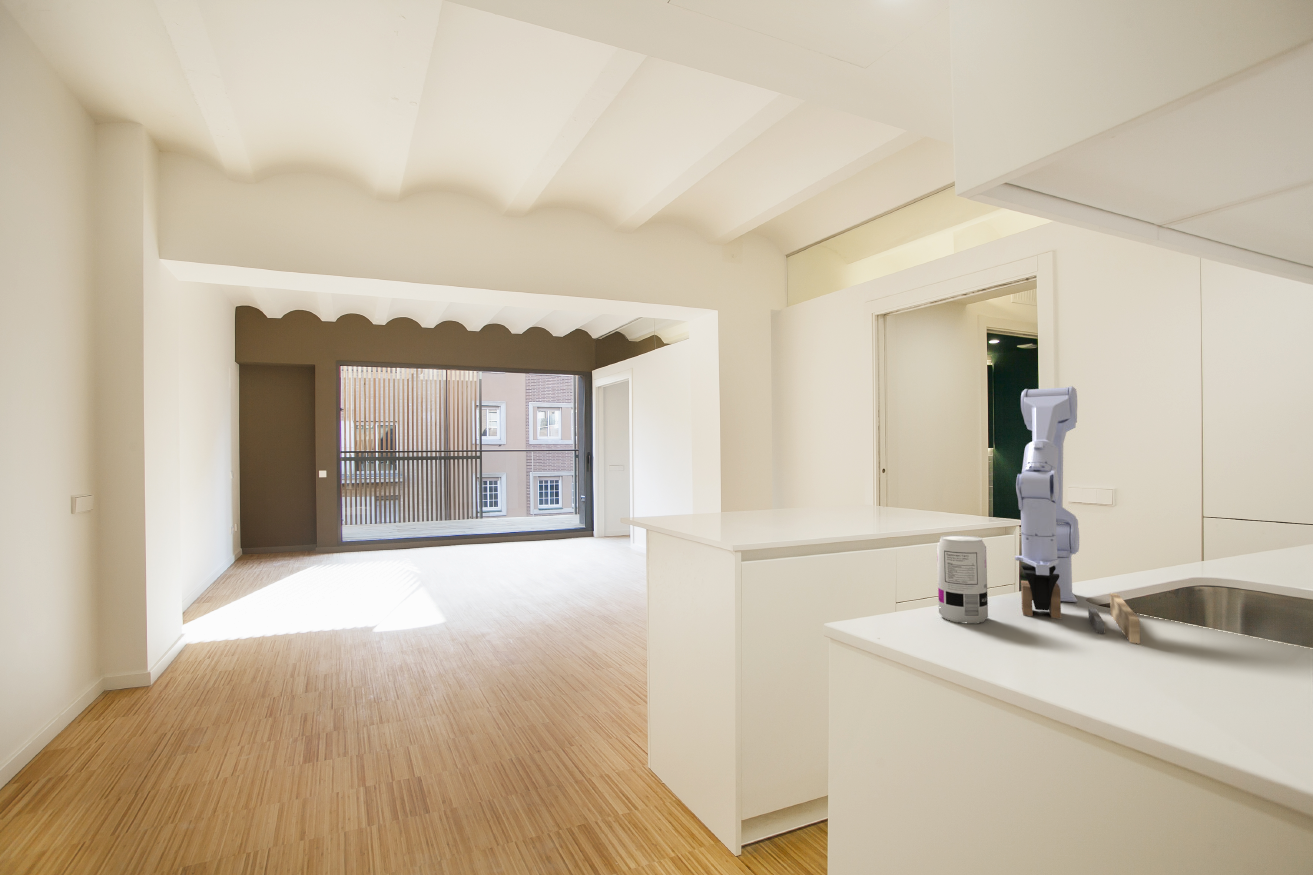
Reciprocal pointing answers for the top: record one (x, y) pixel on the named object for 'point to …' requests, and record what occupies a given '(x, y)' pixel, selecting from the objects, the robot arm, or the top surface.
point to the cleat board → (1118, 618)
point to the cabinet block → (1027, 599)
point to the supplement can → (962, 578)
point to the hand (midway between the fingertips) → (1040, 606)
